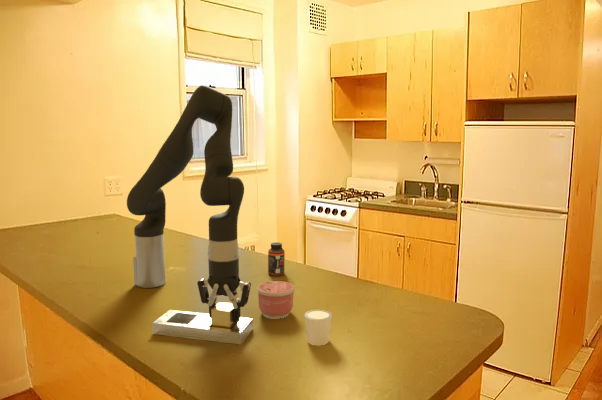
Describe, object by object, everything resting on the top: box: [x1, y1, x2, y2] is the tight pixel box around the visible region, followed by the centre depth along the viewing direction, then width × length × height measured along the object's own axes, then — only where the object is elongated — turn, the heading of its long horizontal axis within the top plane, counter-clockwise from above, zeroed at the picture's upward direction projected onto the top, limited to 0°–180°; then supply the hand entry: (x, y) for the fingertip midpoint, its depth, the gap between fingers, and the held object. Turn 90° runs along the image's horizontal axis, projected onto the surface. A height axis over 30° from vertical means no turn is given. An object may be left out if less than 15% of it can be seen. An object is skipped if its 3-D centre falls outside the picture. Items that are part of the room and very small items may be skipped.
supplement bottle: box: [267, 242, 286, 277], centre depth 168 cm, size 6×6×11 cm
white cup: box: [303, 309, 333, 346], centre depth 115 cm, size 7×7×7 cm
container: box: [256, 280, 295, 320], centre depth 132 cm, size 10×10×8 cm
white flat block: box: [151, 309, 254, 345], centre depth 121 cm, size 24×9×3 cm, turn 77°
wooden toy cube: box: [211, 301, 237, 329], centre depth 119 cm, size 5×5×5 cm
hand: (224, 319), depth 119 cm, fingers open, 5 cm apart
